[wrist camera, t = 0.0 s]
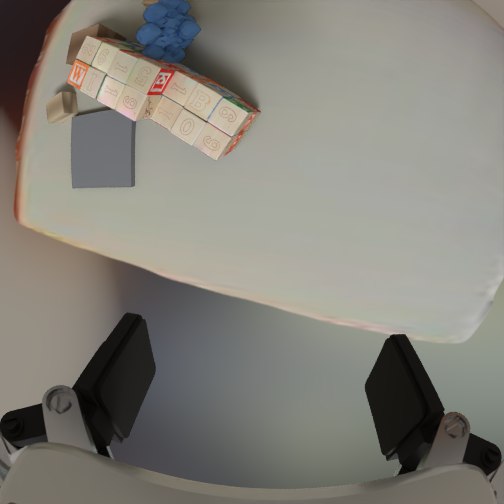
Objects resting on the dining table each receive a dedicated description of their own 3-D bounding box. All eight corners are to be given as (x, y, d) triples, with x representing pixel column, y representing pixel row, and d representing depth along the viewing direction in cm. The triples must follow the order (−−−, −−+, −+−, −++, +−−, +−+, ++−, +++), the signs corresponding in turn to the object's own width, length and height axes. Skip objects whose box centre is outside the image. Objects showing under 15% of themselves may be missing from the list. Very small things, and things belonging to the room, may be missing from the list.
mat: (76, 117, 33) (71, 117, 32) (136, 107, 32) (132, 106, 31) (76, 186, 37) (72, 188, 36) (134, 185, 37) (131, 187, 36)
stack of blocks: (263, 111, 31) (243, 115, 21) (236, 148, 34) (205, 170, 24) (141, 43, 27) (85, 34, 17) (122, 79, 31) (64, 82, 20)
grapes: (211, 76, 31) (172, 68, 21) (167, 76, 31) (118, 73, 21) (221, 5, 24) (188, -26, 14) (176, 8, 25) (132, -14, 15)
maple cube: (60, 103, 32) (45, 102, 28) (76, 93, 31) (61, 91, 28) (63, 123, 33) (48, 123, 29) (78, 113, 33) (63, 113, 29)
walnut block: (100, 45, 28) (72, 33, 20) (125, 38, 28) (99, 23, 20) (96, 71, 30) (66, 63, 22) (121, 65, 30) (92, 54, 22)
